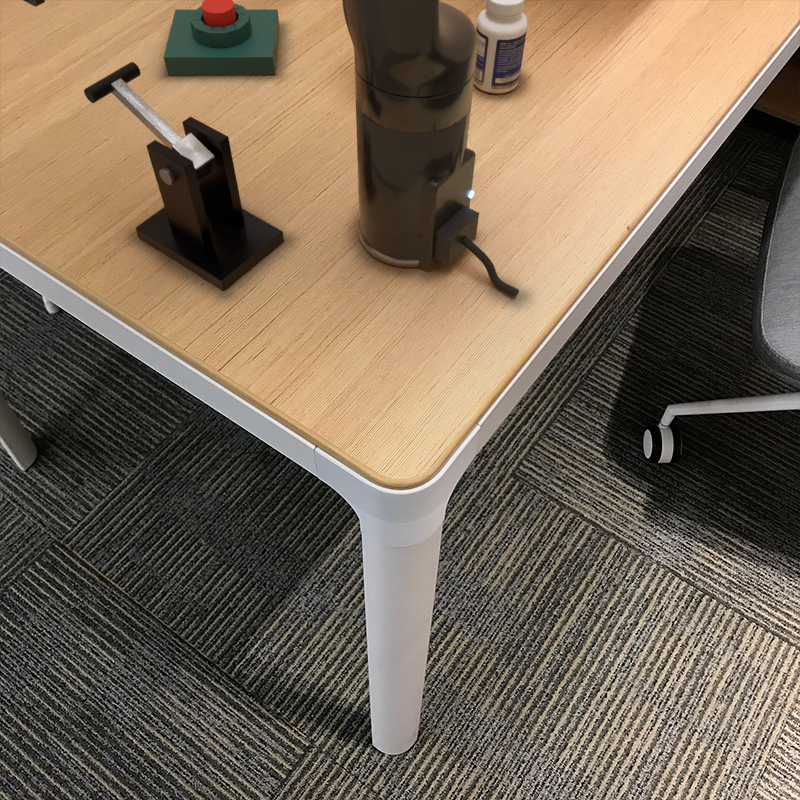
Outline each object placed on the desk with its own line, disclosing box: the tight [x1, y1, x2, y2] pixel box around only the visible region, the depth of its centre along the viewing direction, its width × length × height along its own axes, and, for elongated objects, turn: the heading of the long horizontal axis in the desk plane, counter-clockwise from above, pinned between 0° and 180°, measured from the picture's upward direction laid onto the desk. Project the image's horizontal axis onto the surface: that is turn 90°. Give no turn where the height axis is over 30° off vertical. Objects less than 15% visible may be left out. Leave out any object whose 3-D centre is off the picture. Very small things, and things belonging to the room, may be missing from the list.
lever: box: [83, 61, 215, 181], centre depth 64 cm, size 11×5×2 cm, turn 53°
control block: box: [163, 2, 280, 76], centre depth 88 cm, size 12×10×4 cm
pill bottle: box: [474, 0, 529, 94], centre depth 83 cm, size 5×5×10 cm
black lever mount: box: [135, 116, 285, 291], centre depth 67 cm, size 11×8×11 cm
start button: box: [200, 0, 236, 27], centre depth 86 cm, size 4×4×2 cm
